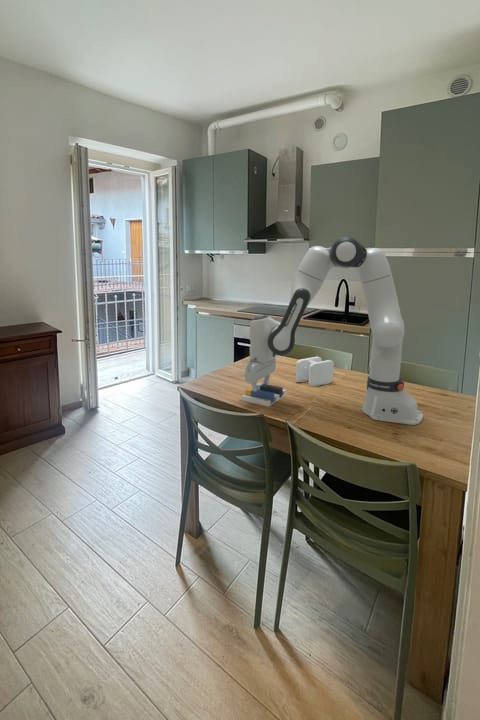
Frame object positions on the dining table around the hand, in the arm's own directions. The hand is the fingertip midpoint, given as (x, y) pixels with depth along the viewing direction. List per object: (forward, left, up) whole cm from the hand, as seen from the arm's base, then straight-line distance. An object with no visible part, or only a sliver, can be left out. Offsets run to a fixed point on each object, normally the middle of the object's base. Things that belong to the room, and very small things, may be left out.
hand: (260, 387), depth 169 cm
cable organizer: (-10, -36, -7) cm, 38 cm away
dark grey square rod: (0, -8, -6) cm, 10 cm away
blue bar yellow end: (0, 0, -6) cm, 6 cm away
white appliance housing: (0, -4, -7) cm, 8 cm away
